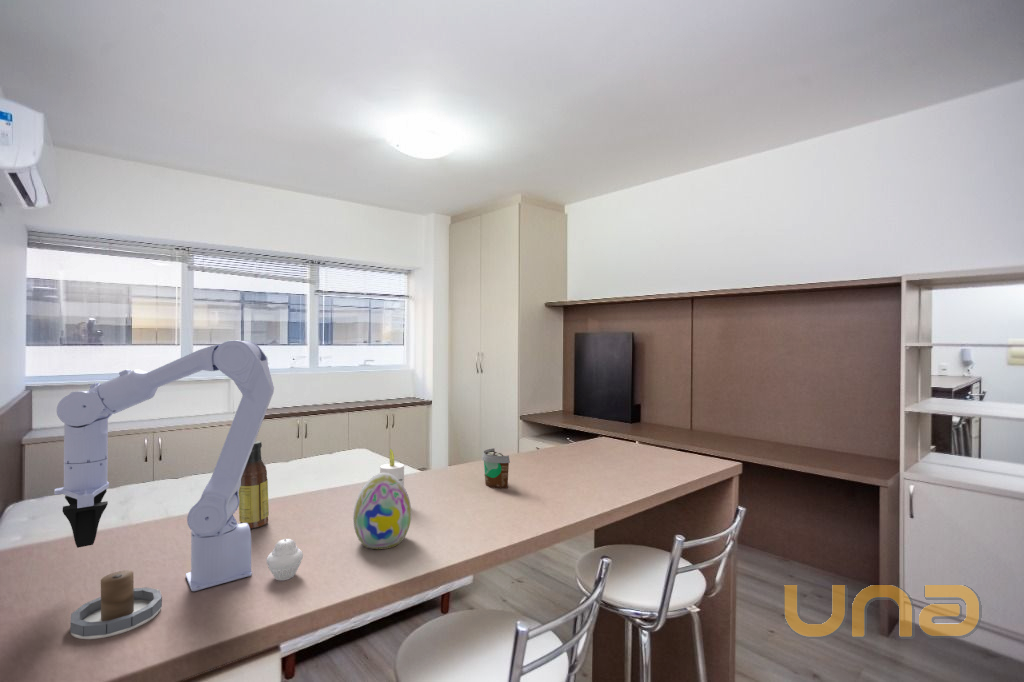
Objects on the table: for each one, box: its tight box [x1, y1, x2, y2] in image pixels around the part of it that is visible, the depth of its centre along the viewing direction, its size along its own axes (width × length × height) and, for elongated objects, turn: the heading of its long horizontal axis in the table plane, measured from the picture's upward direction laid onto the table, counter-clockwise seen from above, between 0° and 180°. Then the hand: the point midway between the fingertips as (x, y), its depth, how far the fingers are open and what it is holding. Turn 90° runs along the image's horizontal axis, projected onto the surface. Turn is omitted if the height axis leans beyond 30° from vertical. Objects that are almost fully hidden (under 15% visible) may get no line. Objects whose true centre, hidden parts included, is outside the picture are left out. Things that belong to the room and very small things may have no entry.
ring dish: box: [69, 587, 163, 640], centre depth 76 cm, size 11×11×2 cm
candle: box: [379, 448, 405, 487], centre depth 130 cm, size 6×6×15 cm
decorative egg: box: [352, 472, 412, 550], centre depth 106 cm, size 12×12×15 cm
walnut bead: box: [100, 569, 135, 621], centre depth 76 cm, size 4×4×6 cm
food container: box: [481, 447, 511, 490], centre depth 149 cm, size 12×6×10 cm, turn 25°
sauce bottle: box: [238, 440, 270, 530], centre depth 116 cm, size 7×6×20 cm
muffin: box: [266, 538, 304, 581], centre depth 90 cm, size 6×6×7 cm
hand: (85, 538), depth 84 cm, fingers open, 7 cm apart
